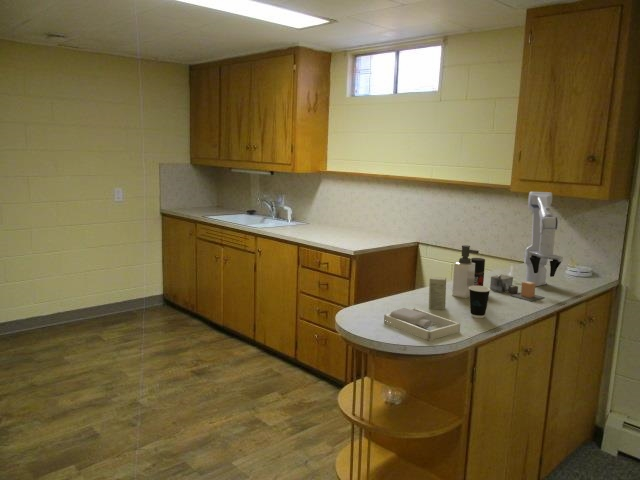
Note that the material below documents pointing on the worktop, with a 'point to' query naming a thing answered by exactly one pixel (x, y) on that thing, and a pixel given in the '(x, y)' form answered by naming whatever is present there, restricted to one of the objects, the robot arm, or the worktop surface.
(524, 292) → the block
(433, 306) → the skincare box
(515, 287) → the black knob
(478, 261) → the deodorant
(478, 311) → the dixie cup
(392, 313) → the charger
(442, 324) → the tray
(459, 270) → the soap dispenser
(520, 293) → the rubber mat
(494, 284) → the junction box
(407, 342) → the worktop surface
